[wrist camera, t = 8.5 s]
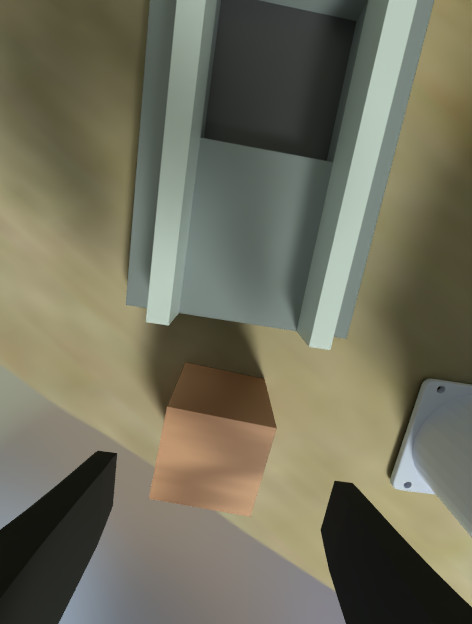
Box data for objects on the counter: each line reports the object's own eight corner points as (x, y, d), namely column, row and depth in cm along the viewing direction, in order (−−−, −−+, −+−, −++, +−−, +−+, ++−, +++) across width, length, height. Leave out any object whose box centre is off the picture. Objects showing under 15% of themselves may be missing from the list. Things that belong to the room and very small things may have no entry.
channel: (415, 13, 13) (492, -86, 9) (336, 330, 17) (368, 355, 13) (164, -42, 13) (135, -171, 9) (135, 299, 16) (104, 315, 12)
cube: (276, 428, 13) (250, 516, 14) (264, 378, 17) (245, 446, 18) (167, 406, 12) (149, 498, 13) (185, 361, 17) (171, 431, 18)
